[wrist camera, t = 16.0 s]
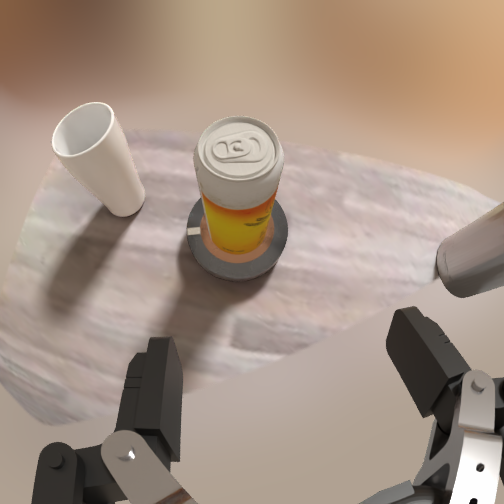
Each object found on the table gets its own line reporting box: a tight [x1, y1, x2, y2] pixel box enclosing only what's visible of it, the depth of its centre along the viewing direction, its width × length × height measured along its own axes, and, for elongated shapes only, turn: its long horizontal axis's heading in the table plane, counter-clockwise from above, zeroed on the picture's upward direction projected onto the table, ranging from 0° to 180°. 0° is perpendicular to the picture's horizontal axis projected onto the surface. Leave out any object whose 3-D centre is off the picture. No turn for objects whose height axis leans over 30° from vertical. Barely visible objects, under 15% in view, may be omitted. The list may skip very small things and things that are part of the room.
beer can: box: [193, 116, 284, 255], centre depth 26 cm, size 6×6×15 cm
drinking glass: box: [51, 102, 145, 217], centre depth 30 cm, size 7×7×15 cm
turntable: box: [187, 198, 288, 281], centre depth 34 cm, size 11×11×2 cm
